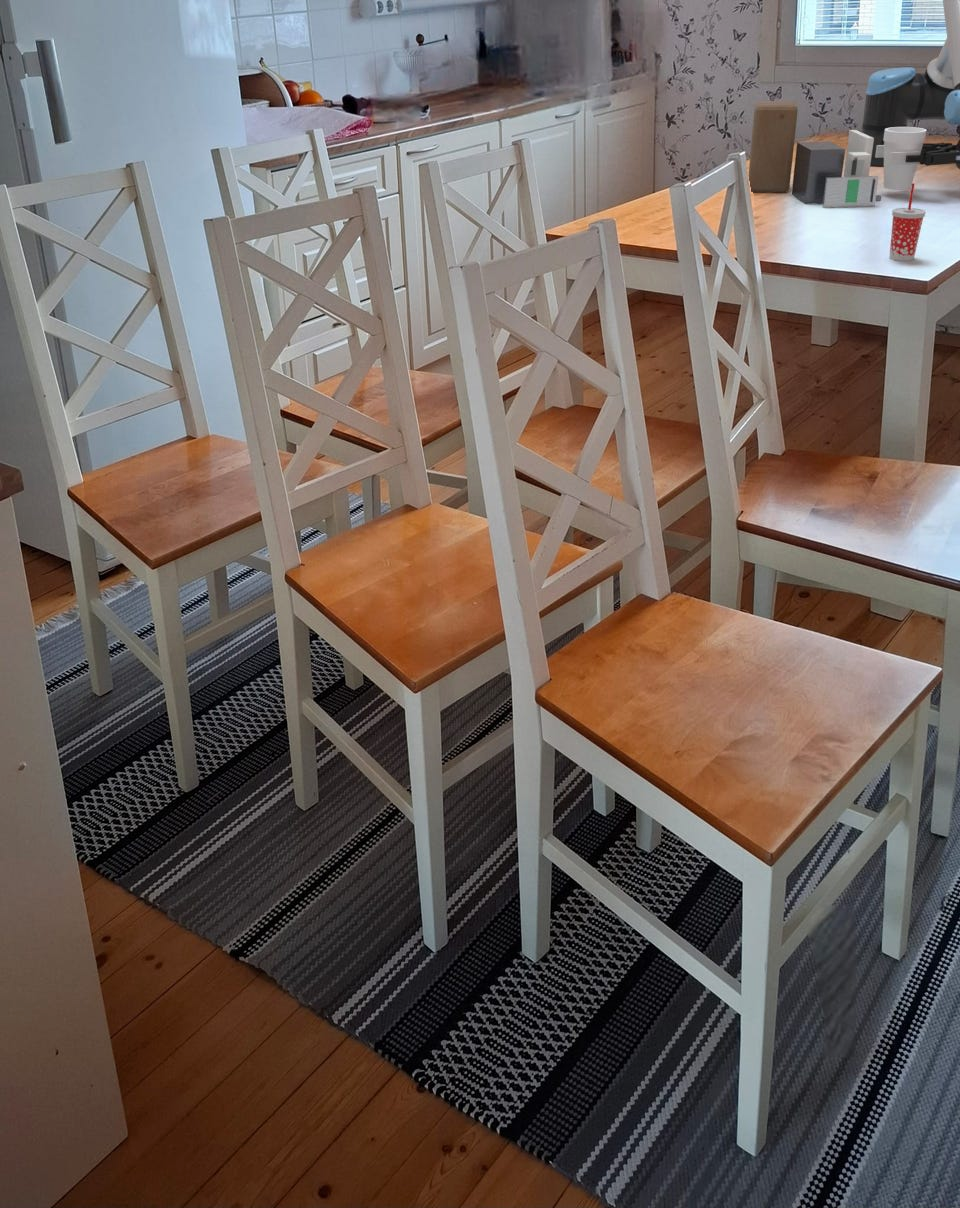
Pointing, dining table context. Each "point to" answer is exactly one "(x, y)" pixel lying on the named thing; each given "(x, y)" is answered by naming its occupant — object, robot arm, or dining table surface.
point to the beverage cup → (905, 231)
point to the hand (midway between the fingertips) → (883, 155)
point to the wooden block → (772, 146)
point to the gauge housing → (829, 178)
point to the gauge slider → (858, 154)
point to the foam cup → (901, 142)
